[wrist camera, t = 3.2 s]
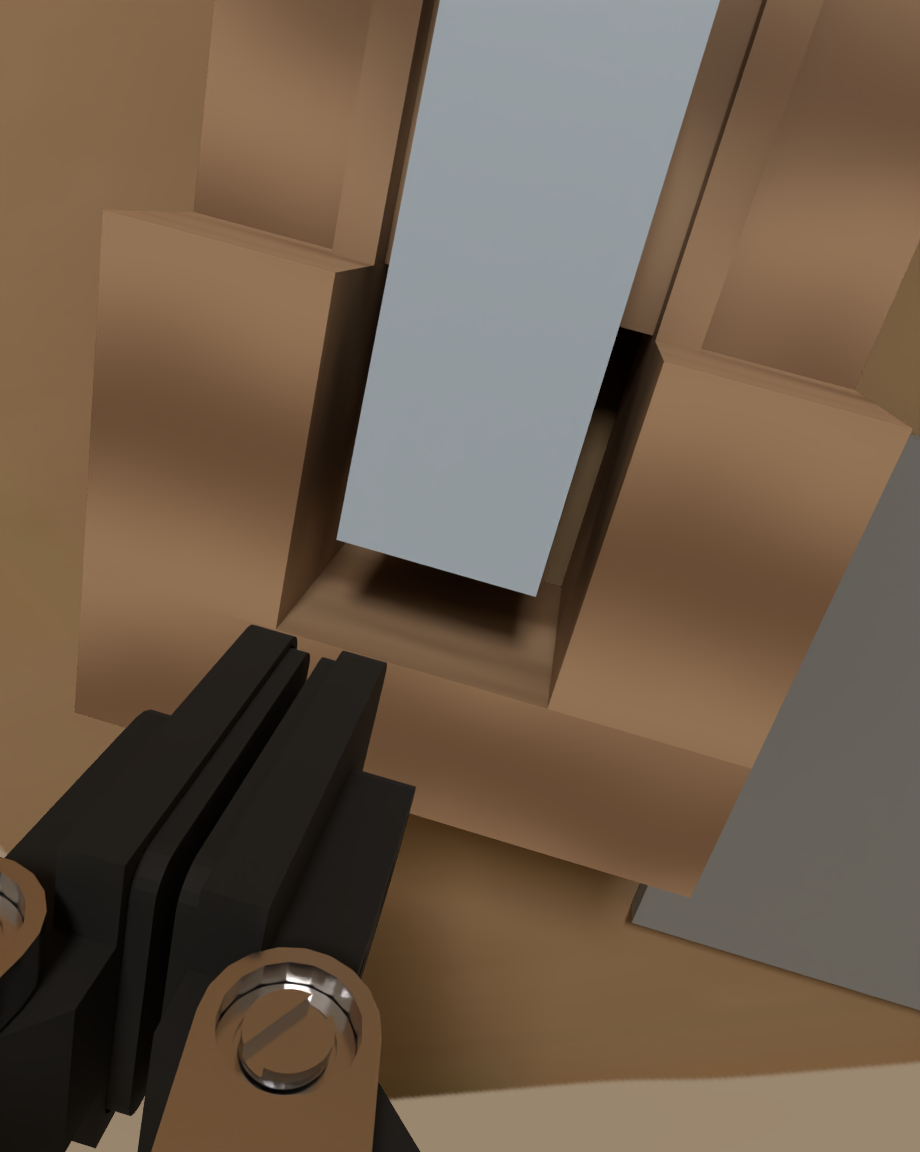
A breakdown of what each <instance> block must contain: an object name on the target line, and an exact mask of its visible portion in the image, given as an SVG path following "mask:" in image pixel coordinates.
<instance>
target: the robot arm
mask: <svg viewBox="0 0 920 1152" xmlns="http://www.w3.org/2000/svg"><path fill="white" fill-rule="evenodd" d="M309 664H310V654H309V653H307V652H304V651H300V650H297V638H296V637H295V636H292V635H288V634H285V633H281V632H278V631H274V630H271V629H267V628H264V627H260V626H257V625H250V626H248V627H247V628H246V629H245V631H244V632H243V633H242V634H241V635H240V636H239V637H238V639H237V640H236V641H235V642H234V643H233V644H232V646H231V647H230V648H229V649H228V650H227V651H226V652H225V654H224V655H223V656H222V657H221V658H220V659H219V661H218V662H217V663H216V664H215V665H214V666H213V667H212V669H211V670H210V671H209V672H208V673H207V674H206V676H205V677H204V678H203V679H202V680H201V681H200V682H199V684H198V685H197V686H196V687H195V688H194V689H193V691H192V692H191V693H190V694H189V695H188V696H187V697H186V699H185V700H184V701H183V702H182V703H181V704H180V705H179V707H178V708H177V709H176V710H175V711H174V712H173V714H172V715H168V714H165V713H161V712H158V711H155V710H151V709H150V710H146V711H143V712H142V713H141V714H140V715H138V716H137V717H136V718H135V719H134V720H133V721H132V722H131V723H130V724H129V725H128V727H127V728H126V729H125V730H124V731H123V732H122V733H121V734H120V735H119V736H118V737H117V738H116V739H115V740H114V742H113V743H112V744H111V745H110V746H109V747H108V748H107V749H106V750H105V751H104V752H103V753H102V754H101V755H100V756H99V758H98V759H97V760H96V761H95V762H94V763H93V764H92V765H91V766H90V767H89V768H88V769H87V770H86V771H85V772H84V774H83V775H82V776H81V777H80V778H79V779H78V780H77V781H76V782H75V783H74V784H73V785H72V786H71V787H70V789H69V790H68V791H67V792H66V793H65V794H64V795H63V796H62V797H61V798H60V799H59V800H58V801H57V802H56V803H55V805H54V806H53V807H52V808H51V809H50V810H49V811H48V812H47V813H46V814H45V815H44V816H43V817H42V818H41V820H40V821H39V822H38V823H37V824H36V825H35V826H34V827H33V828H32V829H31V830H30V831H29V832H28V833H27V834H26V836H25V837H24V838H23V839H22V840H21V841H20V842H19V843H18V844H17V845H16V846H15V847H14V848H13V849H12V851H11V852H10V853H9V854H8V855H7V856H6V857H5V858H2V857H0V1152H65V1151H66V1149H67V1148H68V1146H69V1144H70V1142H71V1141H75V1142H77V1143H81V1144H84V1145H87V1146H90V1147H93V1148H96V1147H97V1145H98V1143H99V1141H100V1139H101V1137H102V1135H103V1133H104V1132H105V1129H106V1128H107V1126H108V1124H109V1122H110V1120H111V1119H112V1117H113V1115H114V1113H115V1111H116V1112H120V1113H123V1114H126V1115H129V1116H132V1114H134V1113H135V1111H136V1110H137V1109H138V1107H139V1105H140V1104H141V1101H142V1100H143V1098H144V1096H145V1102H144V1108H143V1116H142V1123H141V1131H140V1138H139V1145H138V1152H420V1151H419V1149H418V1147H417V1146H416V1144H415V1142H414V1141H413V1139H412V1137H411V1136H410V1134H409V1132H408V1131H407V1129H406V1127H405V1126H404V1124H403V1123H402V1121H401V1119H400V1117H399V1116H398V1114H397V1112H396V1111H395V1109H394V1107H393V1106H392V1104H391V1102H390V1101H389V1099H388V1097H387V1096H386V1094H385V1092H384V1091H383V1089H382V1087H381V1086H380V1084H379V1082H378V1077H379V1066H380V1054H381V1043H382V1034H381V1022H380V1012H379V1010H378V1008H377V1005H376V1003H375V1001H374V998H373V996H372V994H371V991H370V989H369V988H368V987H367V986H366V985H365V984H364V982H363V981H362V980H361V977H362V974H363V971H364V967H365V964H366V961H367V958H368V954H369V951H370V948H371V944H372V941H373V938H374V935H375V931H376V928H377V925H378V921H379V918H380V915H381V912H382V908H383V905H384V902H385V898H386V895H387V891H388V888H389V885H390V881H391V878H392V874H393V871H394V867H395V864H396V860H397V857H398V853H399V850H400V846H401V842H402V839H403V835H404V831H405V828H406V824H407V820H408V817H409V813H410V809H411V806H412V802H413V798H414V794H415V790H416V786H412V785H409V784H405V783H402V782H398V781H395V780H392V779H388V778H385V777H381V776H378V775H374V774H371V773H367V772H364V771H363V768H364V764H365V759H366V755H367V751H368V747H369V742H370V738H371V734H372V730H373V726H374V721H375V717H376V713H377V709H378V705H379V700H380V696H381V692H382V688H383V684H384V679H385V675H386V669H387V663H386V662H383V661H379V660H376V659H372V658H369V657H365V656H362V655H358V654H355V653H351V652H348V651H342V652H341V653H340V655H339V656H338V658H337V660H336V661H335V660H332V659H328V658H325V657H322V658H321V659H320V660H319V662H318V663H317V665H316V667H315V668H314V670H313V671H312V673H311V674H310V676H309V678H308V679H307V675H308V669H309ZM306 680H307V681H306Z"/></svg>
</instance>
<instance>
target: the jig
mask: <svg viewBox="0 0 920 1152" xmlns="http://www.w3.org/2000/svg"><path fill="white" fill-rule="evenodd" d="M439 2H440V0H214V10H213V21H212V31H211V41H210V52H209V62H208V72H207V82H206V93H205V103H204V113H203V123H202V134H201V144H200V154H199V164H198V175H197V185H196V195H195V205H194V212H176V211H137V210H103V217H102V235H101V253H100V271H99V289H98V307H97V325H96V343H95V361H94V379H93V397H92V414H91V432H90V450H89V468H88V486H87V504H86V522H85V540H84V558H83V576H82V594H81V612H80V629H79V647H78V665H77V683H76V701H75V713H79V714H82V715H85V716H89V717H92V718H95V719H99V720H102V721H105V722H109V723H112V724H115V725H119V726H122V727H125V728H127V727H128V725H129V724H130V723H131V722H132V721H133V720H134V719H135V718H136V717H137V716H138V715H140V714H141V713H142V712H143V711H146V710H150V709H151V710H155V711H158V712H161V713H165V714H168V715H172V714H173V712H174V711H175V710H176V709H177V708H178V707H179V705H180V704H181V703H182V702H183V701H184V700H185V699H186V697H187V696H188V695H189V694H190V693H191V692H192V691H193V689H194V688H195V687H196V686H197V685H198V684H199V682H200V681H201V680H202V679H203V678H204V677H205V676H206V674H207V673H208V672H209V671H210V670H211V669H212V667H213V666H214V665H215V664H216V663H217V662H218V661H219V659H220V658H221V657H222V656H223V655H224V654H225V652H226V651H227V650H228V649H229V648H230V647H231V646H232V644H233V643H234V642H235V641H236V640H237V639H238V637H239V636H240V635H241V634H242V633H243V632H244V631H245V629H246V628H247V627H248V626H250V625H257V626H260V627H264V628H267V629H271V630H274V631H278V632H281V633H285V634H288V635H292V636H295V637H296V638H297V650H300V651H304V652H307V653H309V654H310V664H309V669H308V675H307V679H308V678H309V676H310V674H311V673H312V671H313V670H314V668H315V667H316V665H317V663H318V662H319V660H320V659H321V658H322V657H325V658H328V659H332V660H335V661H336V660H337V658H338V656H339V655H340V653H341V652H342V651H348V652H351V653H355V654H358V655H362V656H365V657H369V658H372V659H376V660H379V661H383V662H386V663H387V669H386V675H385V679H384V684H383V688H382V692H381V696H380V700H379V705H378V709H377V713H376V717H375V721H374V726H373V730H372V734H371V738H370V742H369V747H368V751H367V755H366V759H365V764H364V768H363V771H364V772H367V773H371V774H374V775H378V776H381V777H385V778H388V779H392V780H395V781H398V782H402V783H405V784H409V785H412V786H416V790H415V794H414V798H413V802H412V806H411V809H410V814H413V815H417V816H420V817H423V818H427V819H430V820H433V821H437V822H440V823H443V824H447V825H450V826H453V827H456V828H460V829H463V830H466V831H470V832H473V833H476V834H480V835H483V836H486V837H490V838H493V839H496V840H500V841H503V842H506V843H509V844H513V845H516V846H519V847H523V848H526V849H529V850H533V851H536V852H539V853H543V854H546V855H549V856H553V857H556V858H559V859H562V860H566V861H569V862H572V863H576V864H579V865H582V866H586V867H589V868H592V869H596V870H599V871H602V872H606V873H609V874H612V875H615V876H619V877H622V878H625V879H629V880H632V881H635V882H639V883H642V884H645V885H649V886H652V887H655V888H659V889H662V890H665V891H668V892H672V893H675V894H678V895H682V896H685V897H688V898H691V895H692V893H693V891H694V889H695V887H696V885H697V883H698V881H699V879H700V876H701V874H702V872H703V870H704V868H705V866H706V864H707V862H708V860H709V858H710V855H711V853H712V851H713V849H714V847H715V845H716V843H717V841H718V839H719V836H720V834H721V832H722V830H723V828H724V826H725V824H726V822H727V820H728V817H729V815H730V813H731V811H732V809H733V807H734V805H735V803H736V801H737V798H738V796H739V794H740V792H741V790H742V788H743V786H744V784H745V782H746V780H747V777H748V775H749V773H750V771H751V769H752V767H753V765H754V763H755V761H756V758H757V756H758V754H759V752H760V750H761V748H762V746H763V744H764V742H765V739H766V737H767V735H768V733H769V731H770V729H771V727H772V725H773V723H774V720H775V718H776V716H777V714H778V712H779V710H780V708H781V706H782V704H783V702H784V699H785V697H786V695H787V693H788V691H789V689H790V687H791V685H792V683H793V680H794V678H795V676H796V674H797V672H798V670H799V668H800V666H801V664H802V661H803V659H804V657H805V655H806V653H807V651H808V649H809V647H810V645H811V642H812V640H813V638H814V636H815V634H816V632H817V630H818V628H819V626H820V624H821V621H822V619H823V617H824V615H825V613H826V611H827V609H828V607H829V605H830V602H831V600H832V598H833V596H834V594H835V592H836V590H837V588H838V586H839V583H840V581H841V579H842V577H843V575H844V573H845V571H846V569H847V567H848V564H849V562H850V560H851V558H852V556H853V554H854V552H855V550H856V548H857V546H858V543H859V541H860V539H861V537H862V535H863V533H864V531H865V529H866V527H867V524H868V522H869V520H870V518H871V516H872V514H873V512H874V510H875V508H876V505H877V503H878V501H879V499H880V497H881V495H882V493H883V491H884V489H885V486H886V484H887V482H888V480H889V478H890V476H891V474H892V472H893V470H894V468H895V465H896V463H897V461H898V459H899V457H900V455H901V453H902V451H903V449H904V446H905V444H906V442H907V440H908V438H909V436H910V434H911V432H912V430H913V429H912V428H911V427H909V426H908V425H906V424H905V423H903V422H902V421H900V420H899V419H897V418H896V417H894V416H893V415H891V414H890V413H888V412H887V411H885V410H884V409H882V408H881V407H879V406H878V405H876V404H875V403H873V402H872V401H870V400H869V399H867V398H866V397H864V396H863V395H861V394H860V393H858V392H857V391H855V388H856V385H857V383H858V381H859V378H860V376H861V374H862V371H863V369H864V367H865V365H866V362H867V360H868V358H869V355H870V353H871V351H872V349H873V346H874V344H875V342H876V339H877V337H878V335H879V332H880V330H881V328H882V326H883V323H884V321H885V319H886V316H887V314H888V312H889V310H890V307H891V305H892V303H893V300H894V298H895V296H896V293H897V291H898V289H899V287H900V284H901V282H902V280H903V277H904V275H905V273H906V271H907V268H908V266H909V264H910V261H911V259H912V257H913V254H914V252H915V250H916V248H917V245H918V243H919V241H920V0H720V2H719V5H718V8H717V12H716V15H715V18H714V21H713V25H712V28H711V31H710V34H709V38H708V41H707V44H706V47H705V51H704V54H703V57H702V60H701V63H700V67H699V70H698V73H697V76H696V80H695V83H694V86H693V89H692V93H691V96H690V99H689V102H688V106H687V109H686V112H685V115H684V119H683V122H682V125H681V128H680V131H679V135H678V138H677V141H676V144H675V148H674V151H673V154H672V157H671V161H670V164H669V167H668V170H667V174H666V177H665V180H664V183H663V187H662V190H661V193H660V196H659V199H658V203H657V206H656V209H655V212H654V216H653V219H652V222H651V225H650V229H649V232H648V235H647V238H646V242H645V245H644V248H643V251H642V255H641V258H640V261H639V264H638V267H637V271H636V274H635V277H634V280H633V284H632V287H631V290H630V293H629V297H628V300H627V303H626V306H625V310H624V313H623V316H622V319H621V323H620V326H619V327H623V328H626V329H630V330H634V331H638V332H641V333H643V335H642V338H641V341H640V345H639V348H638V351H637V354H636V357H635V360H634V363H633V366H632V370H631V373H630V376H629V379H628V382H627V385H626V388H625V391H624V394H623V398H622V401H621V404H620V407H619V410H618V413H617V416H616V419H615V422H614V426H613V429H612V432H611V435H610V438H609V441H608V444H607V447H606V450H605V454H604V457H603V460H602V463H601V466H600V469H599V472H598V475H597V478H596V482H595V485H594V488H593V491H592V494H591V497H590V500H589V503H588V506H587V510H586V513H585V516H584V519H583V522H582V525H581V528H580V531H579V534H578V538H577V541H576V544H575V547H574V550H573V553H572V556H571V559H570V562H569V566H568V569H567V572H566V575H565V578H564V581H563V584H562V587H558V586H555V585H551V584H548V583H544V582H540V585H539V588H538V591H537V595H536V597H534V596H531V595H527V594H524V593H520V592H517V591H513V590H510V589H506V588H503V587H499V586H496V585H492V584H489V583H486V582H482V581H479V580H475V579H472V578H468V577H465V576H461V575H458V574H454V573H451V572H447V571H444V570H440V569H437V568H433V567H430V566H426V565H423V564H419V563H416V562H412V561H409V560H405V559H402V558H398V557H395V556H391V555H388V554H384V553H381V552H377V551H374V550H370V549H367V548H363V547H360V546H357V545H353V544H350V543H346V542H343V541H339V540H336V539H337V534H338V529H339V524H340V519H341V513H342V508H343V503H344V498H345V493H346V487H347V482H348V477H349V472H350V466H351V461H352V456H353V451H354V446H355V440H356V435H357V430H358V425H359V419H360V414H361V409H362V404H363V399H364V393H365V388H366V383H367V378H368V373H369V367H370V362H371V357H372V352H373V346H374V341H375V336H376V331H377V326H378V320H379V315H380V310H381V305H382V300H383V294H384V289H385V284H386V279H387V273H388V268H389V263H390V258H391V253H392V247H393V242H394V237H395V232H396V227H397V221H398V216H399V211H400V206H401V200H402V195H403V190H404V185H405V180H406V174H407V169H408V164H409V159H410V153H411V148H412V143H413V138H414V133H415V127H416V122H417V117H418V112H419V107H420V101H421V96H422V91H423V86H424V80H425V75H426V70H427V65H428V60H429V54H430V49H431V44H432V39H433V34H434V28H435V23H436V18H437V13H438V7H439ZM306 681H307V680H306Z"/></svg>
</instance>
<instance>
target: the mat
mask: <svg viewBox="0 0 920 1152" xmlns="http://www.w3.org/2000/svg"><path fill="white" fill-rule="evenodd" d="M631 918H632V923H634V924H637V925H641V926H644V927H647V928H651V929H654V930H657V931H660V932H664V933H667V934H670V935H674V936H677V937H680V938H683V939H687V940H690V941H693V942H697V943H700V944H703V945H706V946H710V947H713V948H716V949H720V950H723V951H726V952H729V953H733V954H736V955H739V956H743V957H746V958H749V959H752V960H756V961H759V962H762V963H766V964H769V965H772V966H775V967H779V968H782V969H785V970H789V971H792V972H795V973H798V974H802V975H805V976H808V977H812V978H815V979H818V980H821V981H825V982H828V983H831V984H835V985H838V986H841V987H844V988H848V989H851V990H854V991H858V992H861V993H864V994H867V995H871V996H874V997H877V998H881V999H884V1000H887V1001H890V1002H894V1003H897V1004H900V1005H904V1006H907V1007H910V1008H913V1009H917V1010H920V436H916V435H913V434H910V436H909V438H908V440H907V442H906V444H905V446H904V449H903V451H902V453H901V455H900V457H899V459H898V461H897V463H896V465H895V468H894V470H893V472H892V474H891V476H890V478H889V480H888V482H887V484H886V486H885V489H884V491H883V493H882V495H881V497H880V499H879V501H878V503H877V505H876V508H875V510H874V512H873V514H872V516H871V518H870V520H869V522H868V524H867V527H866V529H865V531H864V533H863V535H862V537H861V539H860V541H859V543H858V546H857V548H856V550H855V552H854V554H853V556H852V558H851V560H850V562H849V564H848V567H847V569H846V571H845V573H844V575H843V577H842V579H841V581H840V583H839V586H838V588H837V590H836V592H835V594H834V596H833V598H832V600H831V602H830V605H829V607H828V609H827V611H826V613H825V615H824V617H823V619H822V621H821V624H820V626H819V628H818V630H817V632H816V634H815V636H814V638H813V640H812V642H811V645H810V647H809V649H808V651H807V653H806V655H805V657H804V659H803V661H802V664H801V666H800V668H799V670H798V672H797V674H796V676H795V678H794V680H793V683H792V685H791V687H790V689H789V691H788V693H787V695H786V697H785V699H784V702H783V704H782V706H781V708H780V710H779V712H778V714H777V716H776V718H775V720H774V723H773V725H772V727H771V729H770V731H769V733H768V735H767V737H766V739H765V742H764V744H763V746H762V748H761V750H760V752H759V754H758V756H757V758H756V761H755V763H754V765H753V767H752V769H751V771H750V773H749V775H748V777H747V780H746V782H745V784H744V786H743V788H742V790H741V792H740V794H739V796H738V798H737V801H736V803H735V805H734V807H733V809H732V811H731V813H730V815H729V817H728V820H727V822H726V824H725V826H724V828H723V830H722V832H721V834H720V836H719V839H718V841H717V843H716V845H715V847H714V849H713V851H712V853H711V855H710V858H709V860H708V862H707V864H706V866H705V868H704V870H703V872H702V874H701V876H700V879H699V881H698V883H697V885H696V887H695V889H694V891H693V893H692V895H691V898H688V897H685V896H682V895H678V894H675V893H672V892H668V891H665V890H662V889H659V888H655V887H652V886H649V885H645V884H642V883H641V884H640V886H639V888H638V891H637V893H636V895H635V898H634V900H633V902H632V904H631Z"/></svg>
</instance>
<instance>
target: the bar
mask: <svg viewBox="0 0 920 1152" xmlns="http://www.w3.org/2000/svg"><path fill="white" fill-rule="evenodd" d="M719 2H720V0H440V2H439V7H438V13H437V18H436V23H435V28H434V34H433V39H432V44H431V49H430V54H429V60H428V65H427V70H426V75H425V80H424V86H423V91H422V96H421V101H420V107H419V112H418V117H417V122H416V127H415V133H414V138H413V143H412V148H411V153H410V159H409V164H408V169H407V174H406V180H405V185H404V190H403V195H402V200H401V206H400V211H399V216H398V221H397V227H396V232H395V237H394V242H393V247H392V253H391V258H390V263H389V268H388V273H387V279H386V284H385V289H384V294H383V300H382V305H381V310H380V315H379V320H378V326H377V331H376V336H375V341H374V346H373V352H372V357H371V362H370V367H369V373H368V378H367V383H366V388H365V393H364V399H363V404H362V409H361V414H360V419H359V425H358V430H357V435H356V440H355V446H354V451H353V456H352V461H351V466H350V472H349V477H348V482H347V487H346V493H345V498H344V503H343V508H342V513H341V519H340V524H339V529H338V534H337V539H336V540H339V541H343V542H346V543H350V544H353V545H357V546H360V547H363V548H367V549H370V550H374V551H377V552H381V553H384V554H388V555H391V556H395V557H398V558H402V559H405V560H409V561H412V562H416V563H419V564H423V565H426V566H430V567H433V568H437V569H440V570H444V571H447V572H451V573H454V574H458V575H461V576H465V577H468V578H472V579H475V580H479V581H482V582H486V583H489V584H492V585H496V586H499V587H503V588H506V589H510V590H513V591H517V592H520V593H524V594H527V595H531V596H534V597H536V595H537V591H538V588H539V585H540V582H541V578H542V575H543V572H544V569H545V565H546V562H547V559H548V556H549V552H550V549H551V546H552V543H553V539H554V536H555V533H556V530H557V527H558V523H559V520H560V517H561V514H562V510H563V507H564V504H565V501H566V497H567V494H568V491H569V488H570V484H571V481H572V478H573V475H574V471H575V468H576V465H577V462H578V459H579V455H580V452H581V449H582V446H583V442H584V439H585V436H586V433H587V429H588V426H589V423H590V420H591V416H592V413H593V410H594V407H595V403H596V400H597V397H598V394H599V391H600V387H601V384H602V381H603V378H604V374H605V371H606V368H607V365H608V361H609V358H610V355H611V352H612V348H613V345H614V342H615V339H616V335H617V332H618V329H619V326H620V323H621V319H622V316H623V313H624V310H625V306H626V303H627V300H628V297H629V293H630V290H631V287H632V284H633V280H634V277H635V274H636V271H637V267H638V264H639V261H640V258H641V255H642V251H643V248H644V245H645V242H646V238H647V235H648V232H649V229H650V225H651V222H652V219H653V216H654V212H655V209H656V206H657V203H658V199H659V196H660V193H661V190H662V187H663V183H664V180H665V177H666V174H667V170H668V167H669V164H670V161H671V157H672V154H673V151H674V148H675V144H676V141H677V138H678V135H679V131H680V128H681V125H682V122H683V119H684V115H685V112H686V109H687V106H688V102H689V99H690V96H691V93H692V89H693V86H694V83H695V80H696V76H697V73H698V70H699V67H700V63H701V60H702V57H703V54H704V51H705V47H706V44H707V41H708V38H709V34H710V31H711V28H712V25H713V21H714V18H715V15H716V12H717V8H718V5H719Z"/></svg>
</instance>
